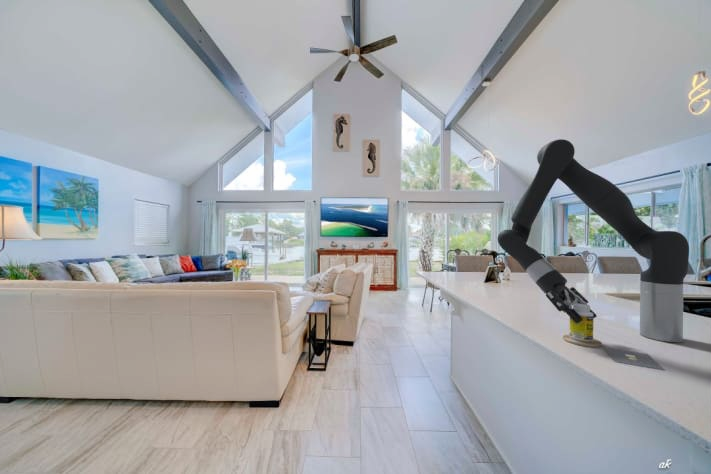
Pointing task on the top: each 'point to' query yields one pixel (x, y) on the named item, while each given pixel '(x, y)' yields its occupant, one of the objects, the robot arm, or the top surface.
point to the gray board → (633, 358)
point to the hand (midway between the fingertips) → (587, 319)
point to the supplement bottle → (582, 324)
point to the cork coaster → (587, 344)
